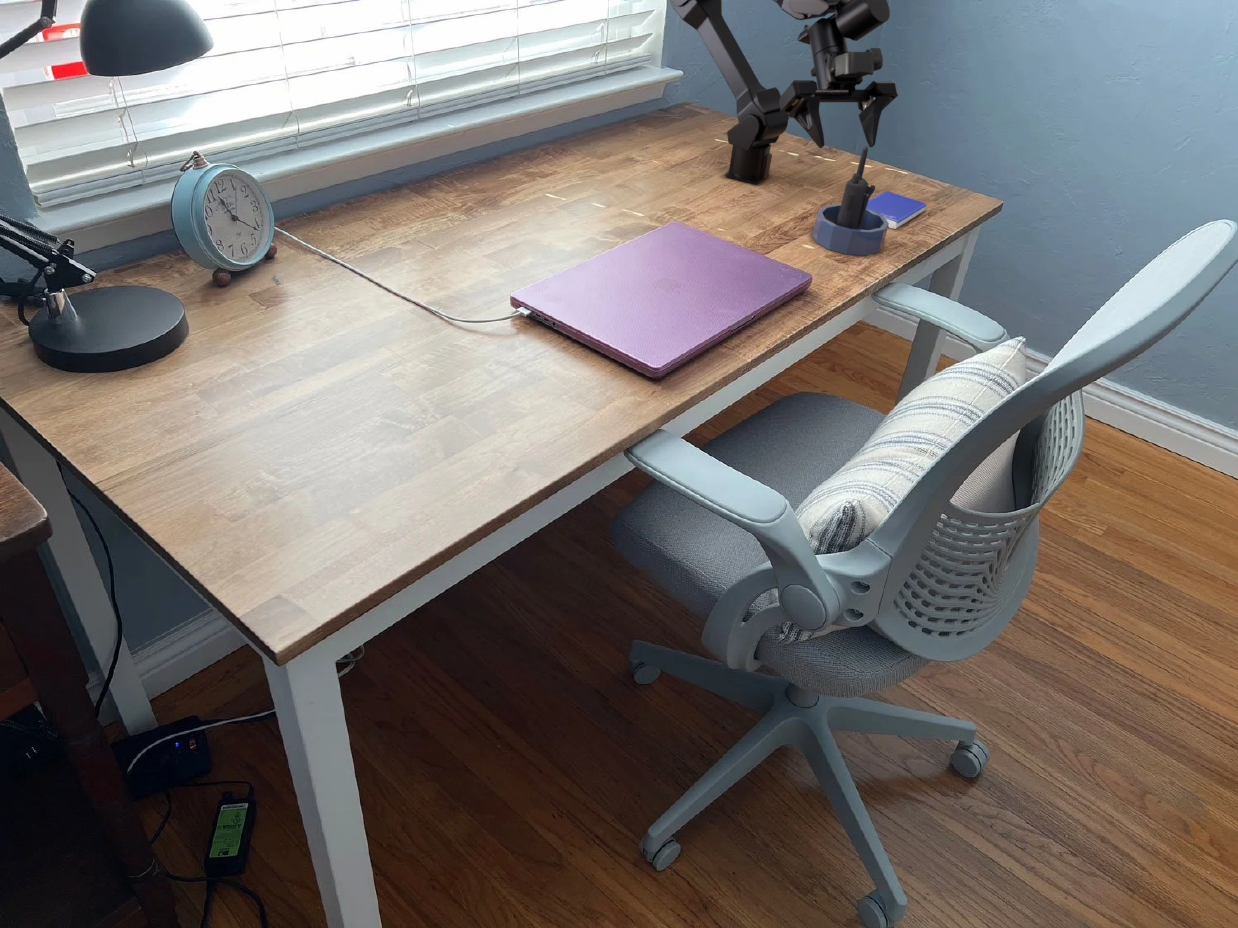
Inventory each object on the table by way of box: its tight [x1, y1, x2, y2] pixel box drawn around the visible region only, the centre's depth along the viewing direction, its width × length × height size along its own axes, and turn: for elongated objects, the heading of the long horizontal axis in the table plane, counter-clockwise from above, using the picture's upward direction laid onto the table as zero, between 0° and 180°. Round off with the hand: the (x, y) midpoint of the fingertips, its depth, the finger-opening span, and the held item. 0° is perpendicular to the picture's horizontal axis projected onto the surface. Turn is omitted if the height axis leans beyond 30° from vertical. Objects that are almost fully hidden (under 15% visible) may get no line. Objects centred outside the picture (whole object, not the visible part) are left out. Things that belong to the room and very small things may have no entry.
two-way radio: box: [836, 146, 876, 229], centre depth 151 cm, size 6×4×15 cm
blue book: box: [866, 190, 928, 230], centre depth 167 cm, size 2×8×12 cm
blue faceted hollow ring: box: [811, 203, 889, 257], centre depth 155 cm, size 11×11×4 cm
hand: (847, 146), depth 153 cm, fingers open, 9 cm apart
